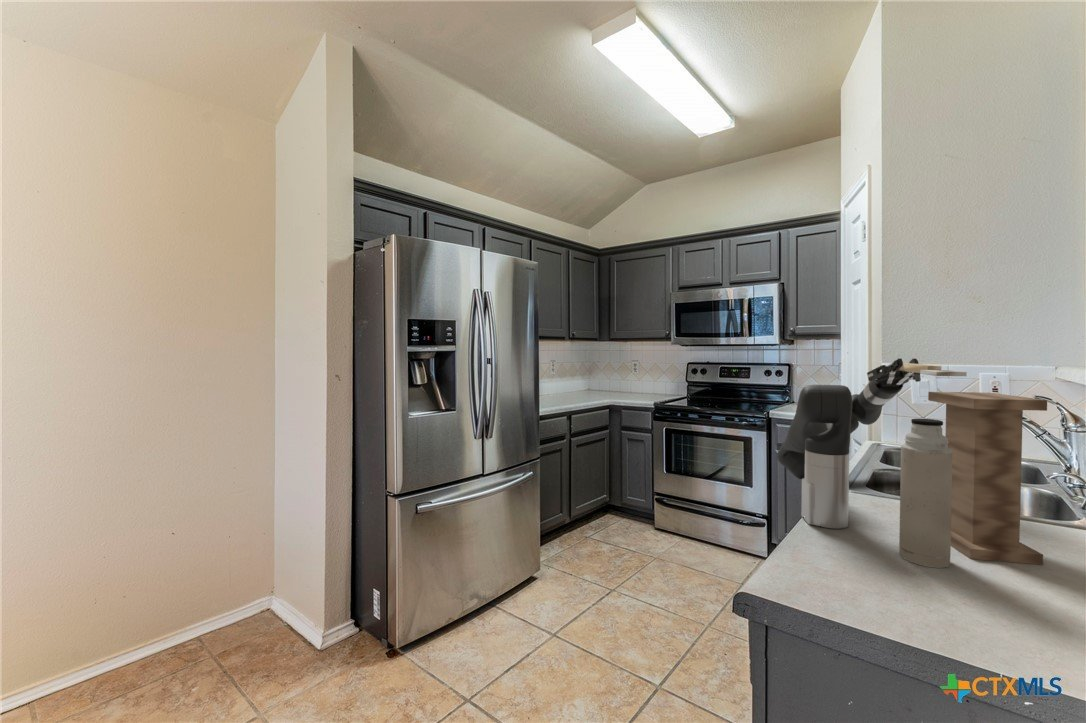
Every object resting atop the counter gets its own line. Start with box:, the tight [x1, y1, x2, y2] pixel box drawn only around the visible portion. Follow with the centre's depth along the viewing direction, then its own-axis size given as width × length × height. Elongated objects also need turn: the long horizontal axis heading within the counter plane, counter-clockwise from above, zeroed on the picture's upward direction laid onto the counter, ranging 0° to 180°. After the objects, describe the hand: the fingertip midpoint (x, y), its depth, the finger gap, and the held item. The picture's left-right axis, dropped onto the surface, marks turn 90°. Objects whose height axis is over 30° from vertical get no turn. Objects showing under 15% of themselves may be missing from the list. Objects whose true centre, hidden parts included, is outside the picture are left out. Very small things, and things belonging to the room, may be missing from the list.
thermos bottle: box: [898, 418, 952, 569], centre depth 95 cm, size 8×8×28 cm
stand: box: [927, 391, 1048, 566], centre depth 102 cm, size 12×16×32 cm
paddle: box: [899, 362, 967, 377], centre depth 124 cm, size 6×25×2 cm, turn 167°
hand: (908, 361), depth 131 cm, fingers closed on paddle, 3 cm apart
